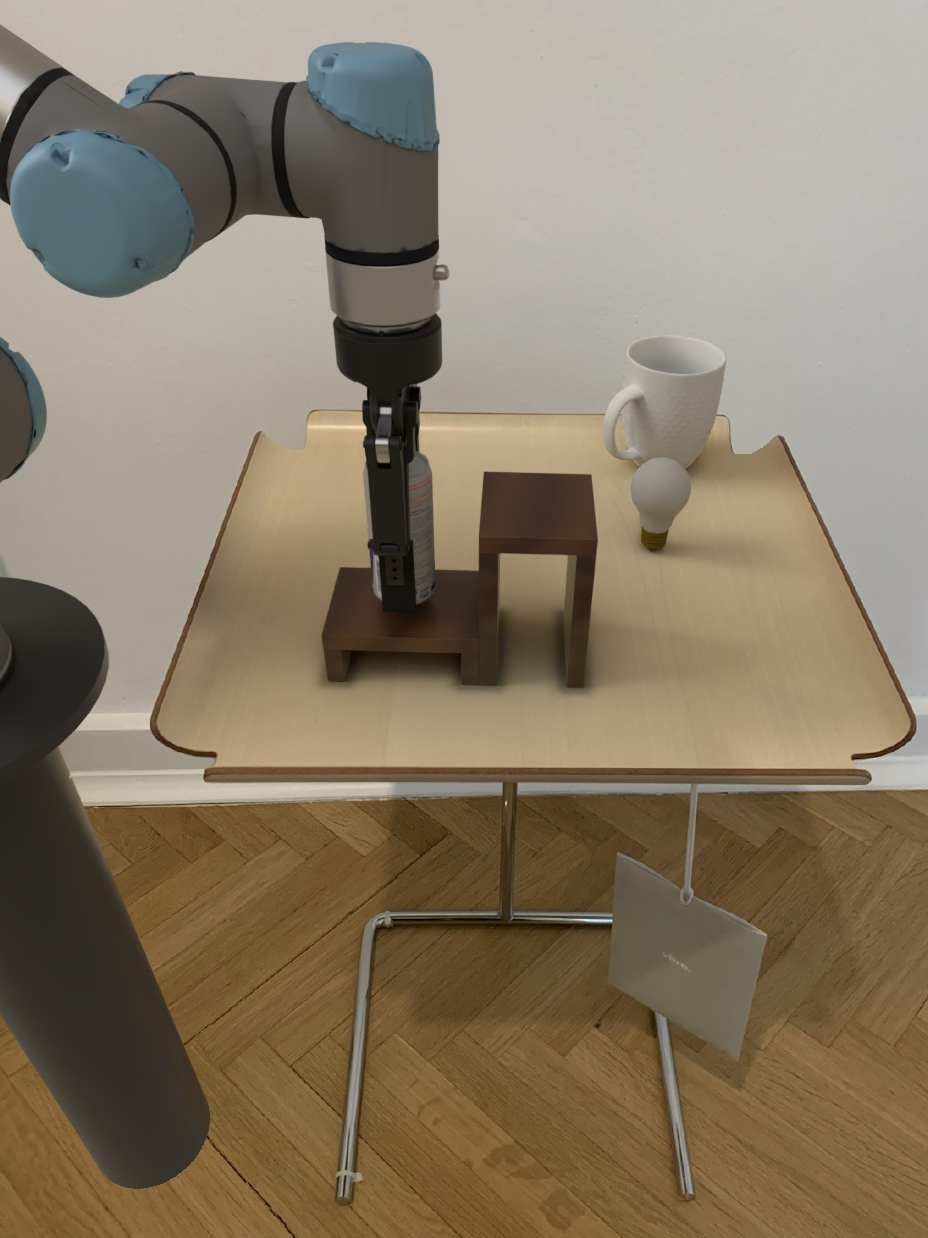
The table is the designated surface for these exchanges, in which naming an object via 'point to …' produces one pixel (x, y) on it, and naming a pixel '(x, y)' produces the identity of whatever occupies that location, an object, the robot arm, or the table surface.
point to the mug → (666, 399)
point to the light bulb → (659, 498)
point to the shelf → (480, 583)
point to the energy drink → (412, 528)
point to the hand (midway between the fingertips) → (403, 587)
